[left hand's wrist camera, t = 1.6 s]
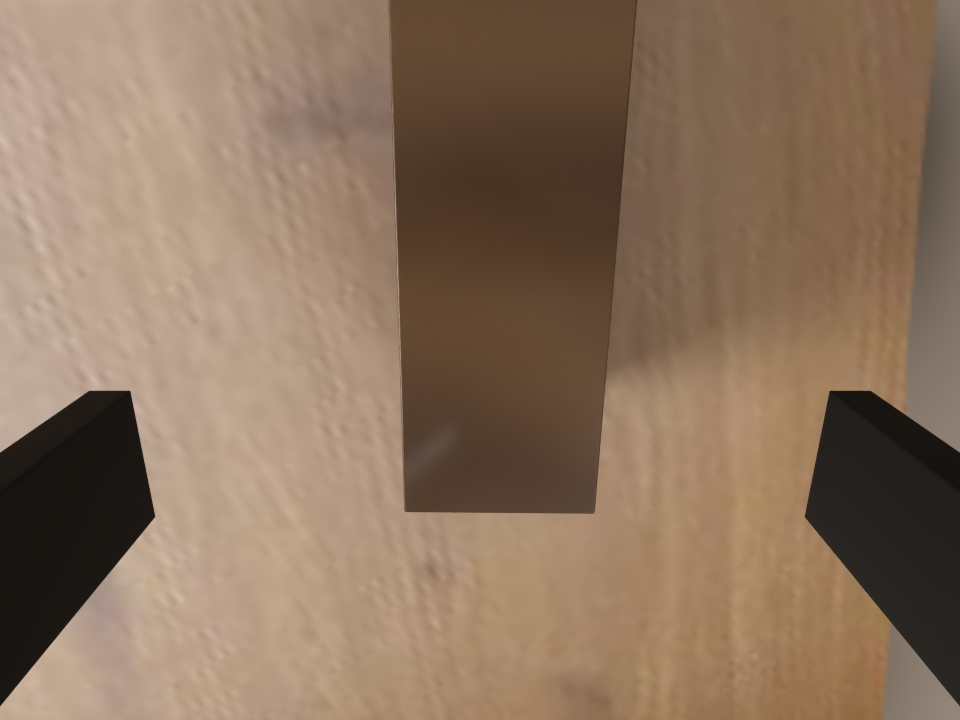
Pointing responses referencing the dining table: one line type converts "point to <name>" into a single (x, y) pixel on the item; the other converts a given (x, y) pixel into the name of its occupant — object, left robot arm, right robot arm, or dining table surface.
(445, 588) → the dining table surface
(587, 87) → the bar
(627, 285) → the dining table surface
